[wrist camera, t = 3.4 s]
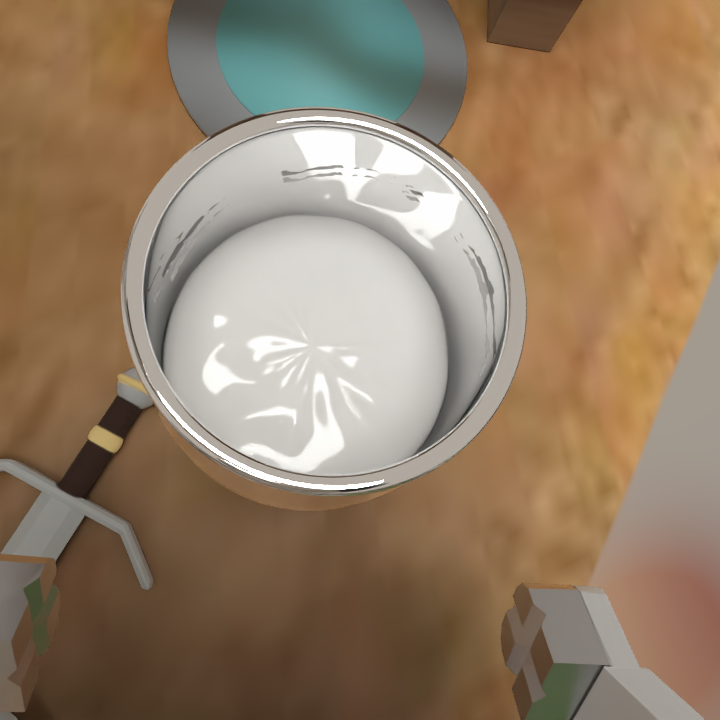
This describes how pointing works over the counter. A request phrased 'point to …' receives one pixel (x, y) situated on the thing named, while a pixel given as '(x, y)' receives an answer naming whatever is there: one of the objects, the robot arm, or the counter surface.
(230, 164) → the beer glass
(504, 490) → the counter surface
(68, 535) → the frying pan
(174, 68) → the shelf bridge
